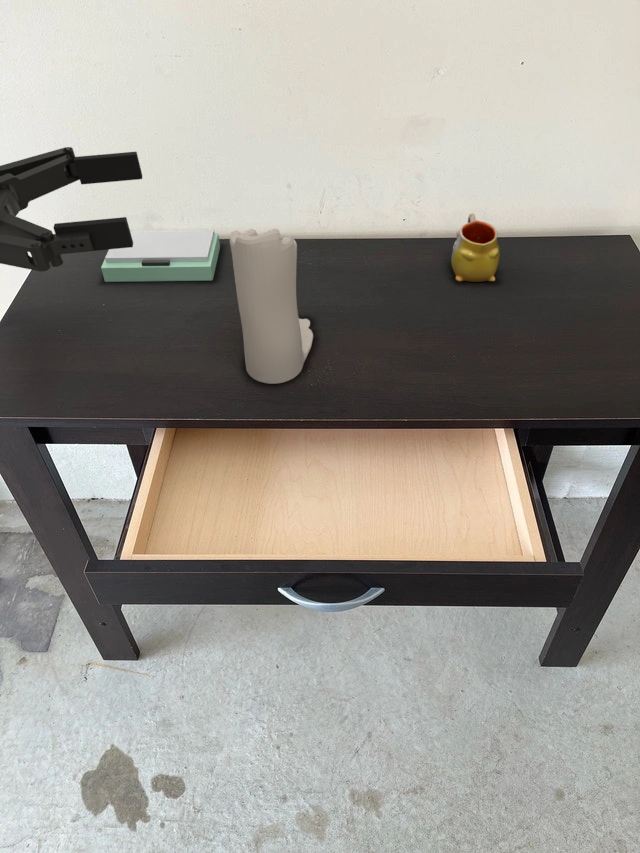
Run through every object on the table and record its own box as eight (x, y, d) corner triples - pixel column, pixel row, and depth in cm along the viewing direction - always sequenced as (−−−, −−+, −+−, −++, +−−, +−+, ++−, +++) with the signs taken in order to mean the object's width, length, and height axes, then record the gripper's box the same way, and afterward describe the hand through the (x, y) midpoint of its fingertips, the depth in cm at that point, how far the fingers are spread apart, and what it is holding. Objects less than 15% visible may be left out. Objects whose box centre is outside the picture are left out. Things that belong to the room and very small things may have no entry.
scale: (104, 281, 97) (99, 262, 95) (119, 248, 104) (114, 229, 102) (212, 280, 97) (209, 261, 94) (220, 246, 104) (217, 228, 101)
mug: (498, 286, 94) (506, 244, 89) (450, 284, 95) (455, 242, 90) (492, 243, 103) (499, 203, 98) (448, 241, 103) (453, 201, 98)
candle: (322, 321, 89) (319, 178, 75) (293, 388, 80) (284, 239, 66) (271, 314, 91) (259, 172, 76) (238, 379, 81) (216, 231, 67)
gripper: (-35, 190, 76) (150, 174, 77) (-104, 325, 59) (134, 301, 60) (-66, 124, 70) (134, 108, 72) (-150, 252, 54) (113, 227, 55)
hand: (135, 196), depth 66 cm, fingers open, 13 cm apart
